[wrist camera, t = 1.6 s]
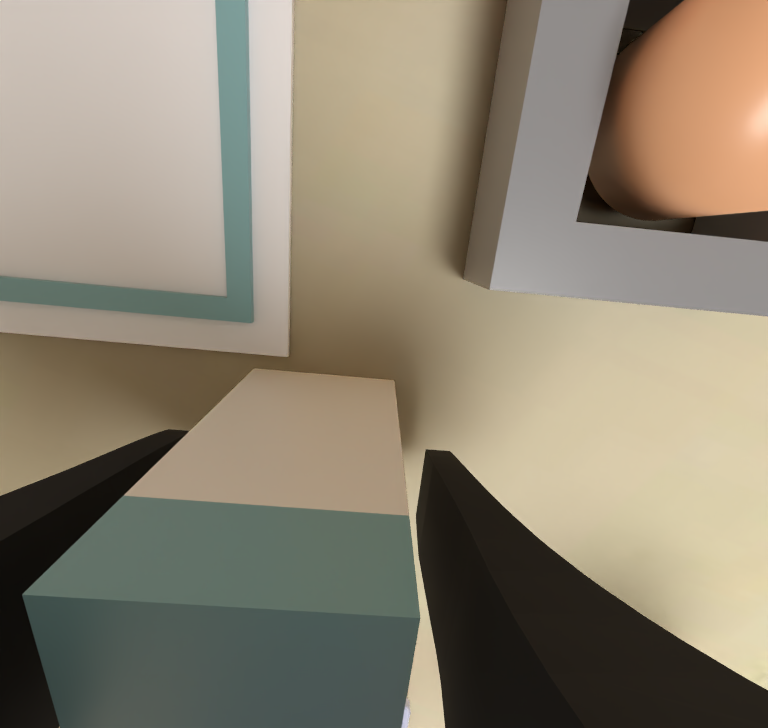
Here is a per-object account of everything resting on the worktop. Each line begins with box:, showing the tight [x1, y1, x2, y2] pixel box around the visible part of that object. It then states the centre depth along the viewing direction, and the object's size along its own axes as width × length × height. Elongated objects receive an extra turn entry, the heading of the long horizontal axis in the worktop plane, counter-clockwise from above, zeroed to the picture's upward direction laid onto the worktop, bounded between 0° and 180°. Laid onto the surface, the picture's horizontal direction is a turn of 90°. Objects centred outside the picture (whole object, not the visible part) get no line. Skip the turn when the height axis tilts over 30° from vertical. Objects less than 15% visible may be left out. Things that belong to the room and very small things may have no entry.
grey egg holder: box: [463, 0, 768, 316], centre depth 7 cm, size 7×7×2 cm
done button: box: [588, 0, 768, 221], centre depth 6 cm, size 4×4×3 cm
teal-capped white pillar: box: [22, 368, 420, 728], centre depth 8 cm, size 4×4×7 cm
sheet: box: [0, 0, 294, 357], centre depth 8 cm, size 12×12×1 cm
